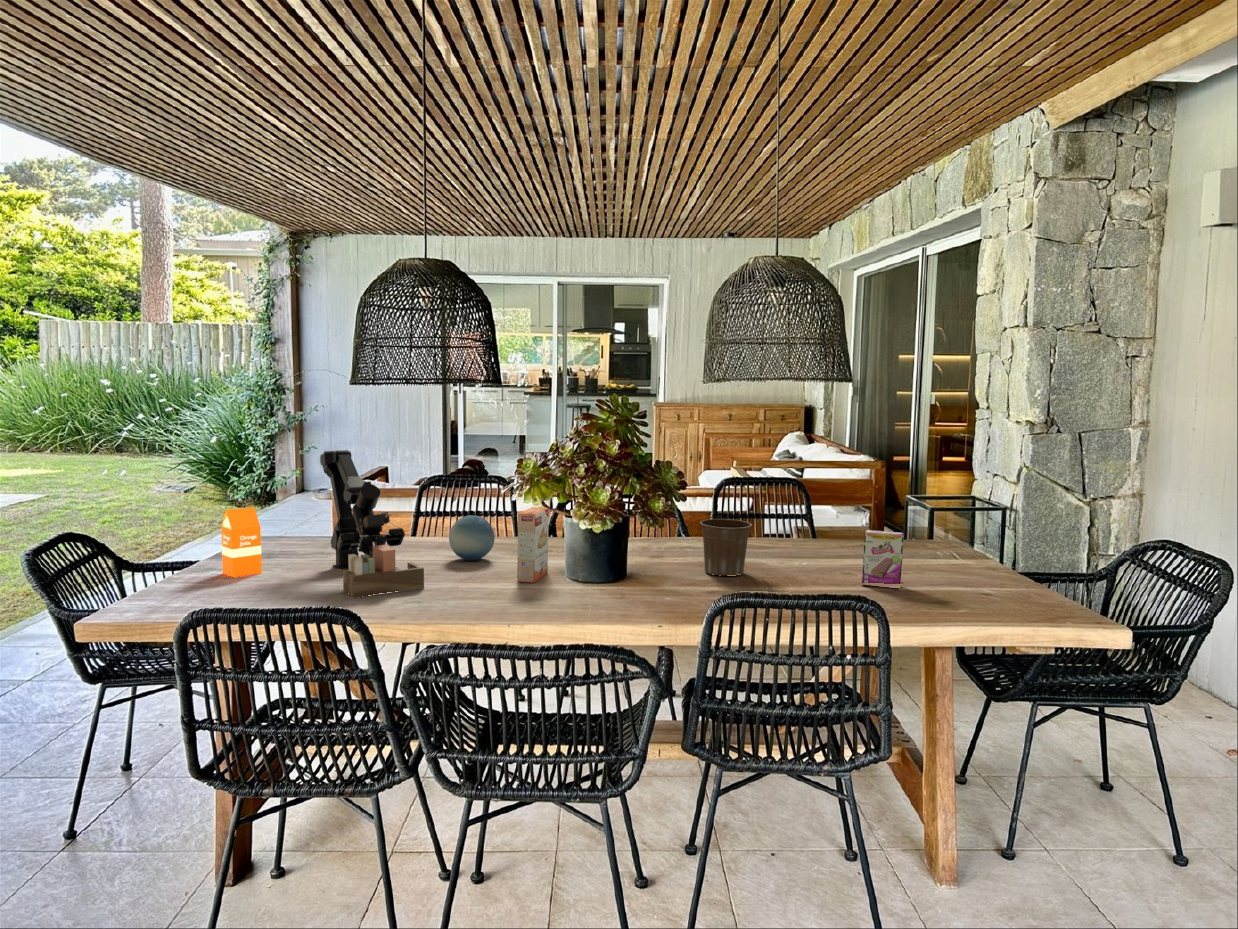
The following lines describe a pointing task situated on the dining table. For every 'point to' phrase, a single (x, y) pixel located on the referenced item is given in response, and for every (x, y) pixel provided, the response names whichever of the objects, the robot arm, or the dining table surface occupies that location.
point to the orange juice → (241, 542)
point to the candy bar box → (882, 557)
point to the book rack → (379, 577)
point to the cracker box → (532, 544)
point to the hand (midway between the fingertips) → (378, 563)
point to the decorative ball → (471, 537)
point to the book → (384, 558)
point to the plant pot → (725, 545)
